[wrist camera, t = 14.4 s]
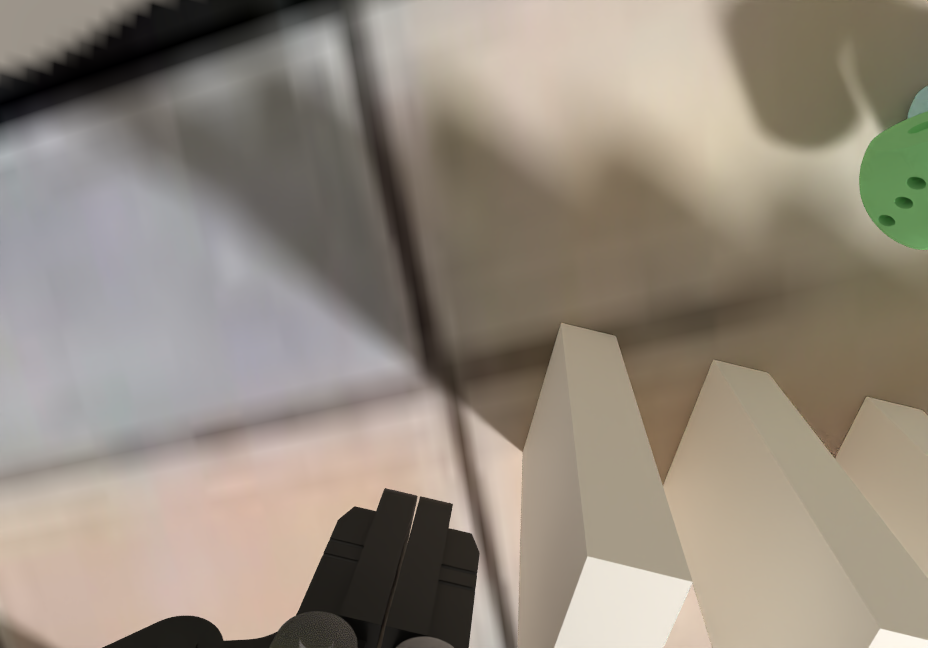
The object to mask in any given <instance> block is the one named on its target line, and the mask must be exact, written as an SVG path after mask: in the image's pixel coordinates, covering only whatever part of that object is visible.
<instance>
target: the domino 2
mask: <svg viewBox="0 0 928 648" xmlns="http://www.w3.org/2000/svg"><path fill="white" fill-rule="evenodd" d="M663 488H664V492H665V495H666V498H667V501H668V504H669V507H670V511H671V514H672V517H673V520H674V523H675V527H676V530H677V533H678V536H679V539H680V543H681V546H682V549H683V552H684V555H685V559H686V562H687V565H688V568H689V571H690V575H691V578H692V581H693V583H692V584H693V587H694V590H695V593H696V597H697V600H698V603H699V606H700V610H701V613H702V616H703V619H704V622H705V626H706V629H707V632H708V635H709V639H710V642H711V645H712V648H928V578H927V577H926V576H925V574H924V573H923V572H922V570H921V569H920V568H919V567H918V565H917V564H916V563H915V561H914V560H913V559H912V558H911V556H910V555H909V554H908V552H907V551H906V550H905V549H904V547H903V546H902V545H901V543H900V542H899V541H898V540H897V538H896V537H895V536H894V534H893V533H892V532H891V530H890V529H889V528H888V527H887V525H886V524H885V523H884V521H883V520H882V519H881V518H880V516H879V515H878V514H877V512H876V511H875V510H874V509H873V507H872V506H871V505H870V503H869V502H868V501H867V500H866V498H865V497H864V496H863V494H862V493H861V492H860V490H859V489H858V488H857V487H856V485H855V484H854V483H853V481H852V480H851V479H850V478H849V476H848V475H847V474H846V472H845V471H844V470H843V469H842V467H841V466H840V465H839V463H838V462H837V461H836V460H835V458H834V457H833V456H832V454H831V453H830V452H829V450H828V449H827V448H826V447H825V445H824V444H823V443H822V441H821V440H820V439H819V438H818V436H817V435H816V434H815V432H814V431H813V430H812V429H811V427H810V426H809V425H808V423H807V422H806V421H805V420H804V418H803V417H802V416H801V414H800V413H799V412H798V410H797V409H796V408H795V407H794V405H793V404H792V403H791V401H790V400H789V399H788V398H787V396H786V395H785V394H784V392H783V391H782V390H781V389H780V387H779V386H778V385H777V383H776V382H775V381H774V380H773V378H772V377H771V376H770V374H769V373H767V372H763V371H759V370H755V369H751V368H747V367H742V366H738V365H734V364H730V363H726V362H722V361H718V360H713V361H712V364H711V366H710V369H709V371H708V374H707V376H706V379H705V381H704V384H703V386H702V389H701V391H700V394H699V396H698V399H697V401H696V404H695V406H694V409H693V411H692V414H691V417H690V419H689V422H688V424H687V427H686V429H685V432H684V434H683V437H682V439H681V442H680V444H679V447H678V449H677V452H676V454H675V457H674V459H673V462H672V464H671V467H670V469H669V472H668V474H667V477H666V479H665V482H664V484H663Z"/></svg>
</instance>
